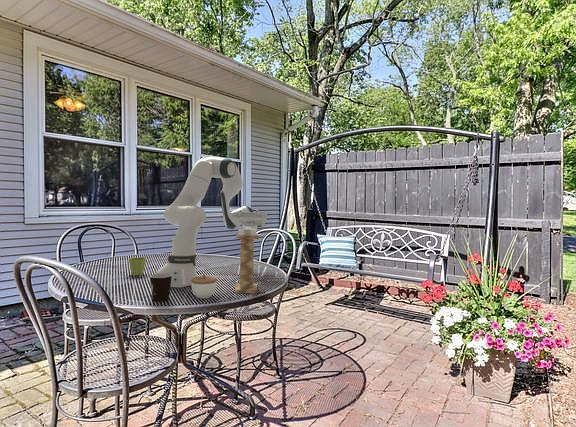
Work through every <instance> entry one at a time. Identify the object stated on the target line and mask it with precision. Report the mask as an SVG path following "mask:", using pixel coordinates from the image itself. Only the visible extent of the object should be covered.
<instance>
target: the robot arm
mask: <svg viewBox="0 0 576 427" xmlns="http://www.w3.org/2000/svg"><path fill="white" fill-rule="evenodd" d="M212 178H215V179H220V180H221V182H222V189H221V190H220V193H219V195H220V205H221V210H222V218H223V219H222V220H223V224H224V226H225V227H226V229H229V230H233V229H235V228H238V227H239V226H241V225H242V229H244V228H245V226H246V227H251V229H256V233H258V232H257V231H258V228H260V227H265V224H266V223H267V220H268V214H267V213H268V212H266V211H260V210H259V209H256V210H255V211H253V209H252V208H251V207H249V206H248V205H244V206H242V207H239V208H236V209H235V210H232V211H231V210H230V209H231V207H230V201H231V200H232V199H233V198H234V197H236V195H237V194H239V193H240V192H241V190H242V188H243V185H244V184H243V179H242V175H241V172H240V170H239V168H238V166H237V163H235V162H234V161H233V160H232V159H230V158H227V157H225V158H223V157H219V156H203V157H201V158H200V159H199V160H197V161H196V162H195V164H194V165H193V167H192V169H191V171H190V172H189V174H188V177H187V179H186V181H185V183H184V185H183V188H182V189H181V191H180V192H179V194H178V196H177V197H176V198H175V200H174V201H173V202H172V203H171V204H169V206H167V207H166V208H165V210H164V214H163V215H164V220H165V221H166V222H167V223H168V224H170V225H172V226H176V227H178V228H177V231H176V234H175V235H174V236H173V237H172V245H171V247H172V252H171V253H170V254H169V255H168V256H167V263H166V264H164V265H163V266H162V267H160V268H158V270H156V273H155V274H161V273H165V274H171V275H172V279H171V286H170V288H185V287H188V286H190V287H191V279H192V278H194V277H198V275H197V267H196V266H197V259H198V258H197V254H196V251H197V250H196V247H197V245H196V243H197V237H198V233H199V230H200V227H202V225H203V224H204V223H205V221H206V211H205V209H203V207H201V206H198V204H199V203H200V202H201V201H203V200H204V198H205V196H206V193H207V192H208V190H209V186H210V184H211V181H212ZM149 286H151V282H149Z"/></svg>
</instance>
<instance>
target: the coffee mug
mask: <svg viewBox="0 0 576 427" xmlns="http://www.w3.org/2000/svg"><path fill="white" fill-rule="evenodd" d="M171 279H172V275H171V274H165V273H161V274H156V273H154V274H150V275H149V281H150V282H151V285H150V290H151V299H152V301H153V302H157V303H160V302H167V301H169V299H170V292H171V287H170V286H171ZM150 282H149V283H150Z"/></svg>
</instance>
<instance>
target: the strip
mask: <svg viewBox="0 0 576 427" xmlns="http://www.w3.org/2000/svg"><path fill="white" fill-rule="evenodd" d="M237 233H238V235H256V233H257V232H256V229H251V227H246V226H245V228H244V229H243V228H239V229H238V232H237Z"/></svg>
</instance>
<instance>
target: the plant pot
mask: <svg viewBox="0 0 576 427" xmlns="http://www.w3.org/2000/svg"><path fill="white" fill-rule="evenodd" d="M147 259H148V258H146V257H131V258H128V259H127V261H128V263H129V268H130V276H143V275H144V274H145V273H144V272H145V266H146V262H147Z"/></svg>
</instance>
